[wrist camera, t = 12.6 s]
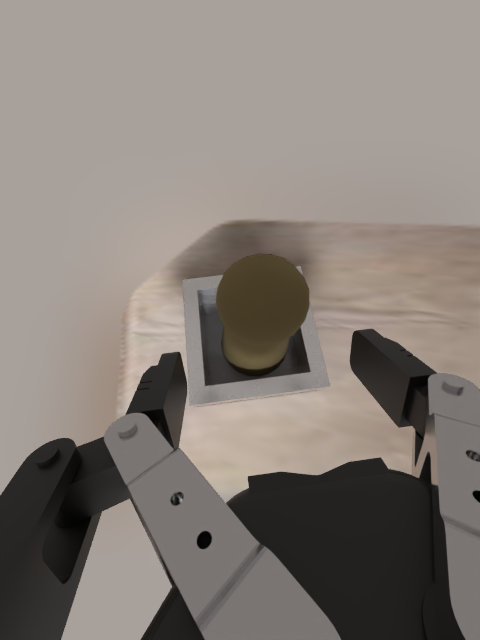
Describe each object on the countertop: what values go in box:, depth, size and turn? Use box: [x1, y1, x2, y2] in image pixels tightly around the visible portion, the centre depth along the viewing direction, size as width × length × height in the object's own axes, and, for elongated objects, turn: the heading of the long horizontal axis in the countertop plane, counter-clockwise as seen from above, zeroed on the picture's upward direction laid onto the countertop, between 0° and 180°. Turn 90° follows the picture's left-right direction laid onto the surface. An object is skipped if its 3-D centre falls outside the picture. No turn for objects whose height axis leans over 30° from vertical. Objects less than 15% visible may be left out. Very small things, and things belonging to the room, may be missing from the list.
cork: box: [216, 254, 309, 377], centre depth 18 cm, size 6×6×11 cm
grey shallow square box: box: [182, 266, 330, 407], centre depth 22 cm, size 10×10×3 cm
